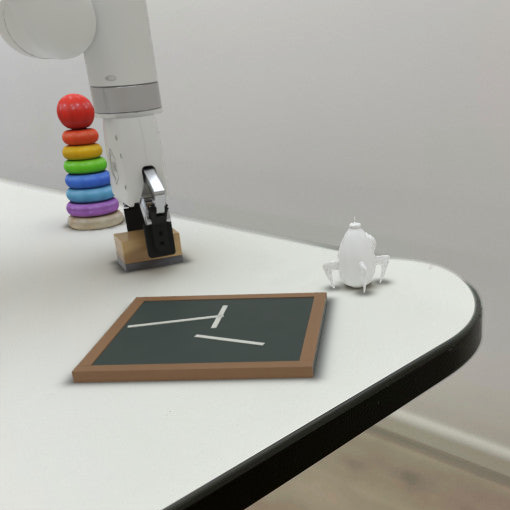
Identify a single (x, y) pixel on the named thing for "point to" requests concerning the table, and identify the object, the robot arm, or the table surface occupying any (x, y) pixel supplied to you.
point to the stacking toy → (85, 168)
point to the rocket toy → (356, 259)
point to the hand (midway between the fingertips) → (151, 246)
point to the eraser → (142, 251)
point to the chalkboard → (209, 339)
